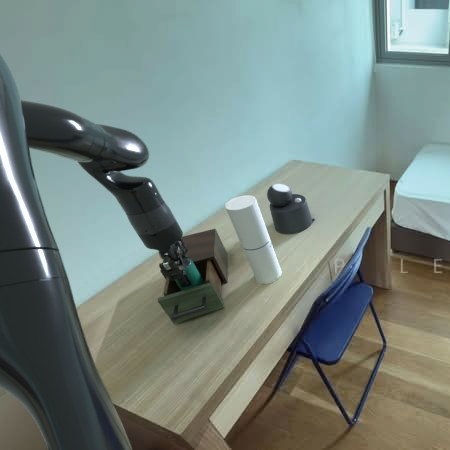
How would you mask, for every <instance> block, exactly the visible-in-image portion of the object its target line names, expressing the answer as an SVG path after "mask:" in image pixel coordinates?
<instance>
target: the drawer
mask: <svg viewBox="0 0 450 450" xmlns="http://www.w3.org/2000/svg"><path fill="white" fill-rule="evenodd" d="M194 265H195V266H196V268H197V270H198V272H199V273H200V275H201V277H202V279H203V281H204V282H203V285H200V286H197V287H193V288H190V289H187V290H183V291H181V289H180V288H179V286H178V285H177V283H176V282H175V280H173V281H171V280H170V279H169V278H168V277H167V279H165V284H164V288H163V293H162V294H163V296H159V297H158V298H157V302H158V305H160V307H161V308H162V310H163V311H164V313H165V314H166V315H167V317H168V318H169V320H170V321H171V323H172V324H174V325H175V324H178V323H181V322H184V321H187V320H189V319H193V318H196V317H199V316H202V315H205V314H208V313H211V312H214V311H217V310H220V309H224V308H225V303H224V302H223V300H222V297H221V296H222V295H221V294H222V284H221V276H220V274H219V272H218V270H217V268H216V266H215V264H214V262H213V260H212V259H210V260H207V261H203V262H199V263H196V264H194Z"/></svg>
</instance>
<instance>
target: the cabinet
mask: <svg viewBox="0 0 450 450" xmlns="http://www.w3.org/2000/svg"><path fill="white" fill-rule="evenodd" d="M182 239H183V241H184V243H185V245H186V247H187V249H188V252H187V255H188V258H189V259H191V260H192V261H193V263H194V264H196V263H199V262H203V261H207V260H210V259H212V260H213V262H214V264H215V266H216V268H217V270H218V272H219V274H220V276H221V285H224V284H227V283H228V252H227V250H226V248H225V246H224V244H223V242H222V239H221V237H220V235H219V233H218V231H217V228H212V229H208V230H204V231H200V232H196V233H192V234H187V235H183V236H182ZM161 263H163V261H162V262H161ZM160 273H161V275H162V276H163V278H164V279H165V280H166V279H167V275H166V274H165V273H164V272H163V271H162V270H161V269H160Z"/></svg>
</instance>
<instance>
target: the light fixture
mask: <svg viewBox="0 0 450 450" xmlns="http://www.w3.org/2000/svg"><path fill="white" fill-rule="evenodd" d="M266 198H267V200H268V202H269V210H270V215H271V218H272V222H273V226H274V230H275V231H276V232H277V233H279V234H282V235H294V234H298V233H301V232H303V231H305V230H307V229H308V228H309V227H311V225H312V224H313V222H314V221H316V219H315V218H313V217H312V214H311V210H310V207H309V204H308V201H307V198H306V196H304V195H302V194H298V193H293V191H292V190H291V188H290V187H289V186H288V185H286V184H283V183H273V184H272V185H271V186H269V187H268V189H267V191H266Z"/></svg>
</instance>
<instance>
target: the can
mask: <svg viewBox="0 0 450 450" xmlns="http://www.w3.org/2000/svg"><path fill="white" fill-rule="evenodd" d="M183 261H184V265H183V267H184V270H185V271H186V274H187V275H188V277H189V279H190V280H191V282H192V283H191V285H190V286H187V287H184V288H183V287H181V286H180V284H179V283H178V281H177V279H176V280H175V282H176V283H177V285H178V286H179V288H180V289H181V291H183V290H187V289H190V288H193V287H197V286H200V285H203V282H204V281H203V279H202V277H201V275H200V273H199V272H198V270H197V268H196V266H195V265H194V263H193V261H192V260H191V259H189V258H185V259H183ZM175 263H179V261H177V262H175ZM178 268H179V267H178ZM179 269H180V268H179Z"/></svg>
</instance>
